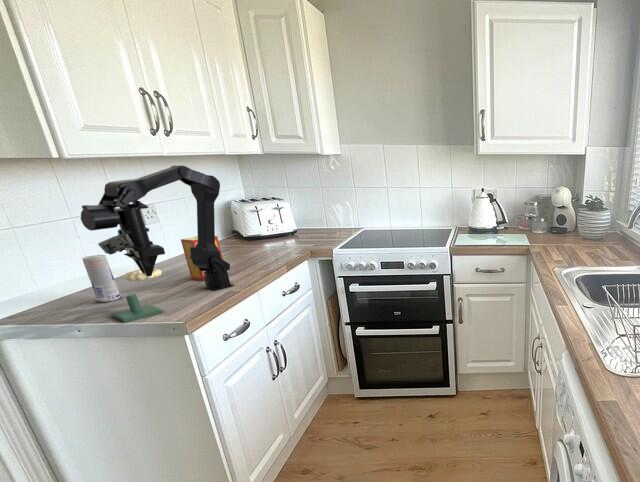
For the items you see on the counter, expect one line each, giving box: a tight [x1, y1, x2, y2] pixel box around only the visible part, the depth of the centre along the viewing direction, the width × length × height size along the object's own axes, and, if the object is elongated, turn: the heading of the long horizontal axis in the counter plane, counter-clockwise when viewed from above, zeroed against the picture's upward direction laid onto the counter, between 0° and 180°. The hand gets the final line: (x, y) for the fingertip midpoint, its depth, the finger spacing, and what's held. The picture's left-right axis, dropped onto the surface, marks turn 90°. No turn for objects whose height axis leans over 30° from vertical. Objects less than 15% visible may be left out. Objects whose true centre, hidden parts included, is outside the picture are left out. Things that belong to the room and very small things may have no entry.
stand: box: [111, 293, 162, 323], centre depth 125 cm, size 9×9×6 cm
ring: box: [123, 268, 163, 282], centre depth 131 cm, size 9×9×2 cm
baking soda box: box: [180, 235, 224, 282], centre depth 161 cm, size 10×6×16 cm
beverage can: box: [81, 254, 121, 303], centre depth 136 cm, size 6×6×15 cm
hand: (147, 275), depth 129 cm, fingers closed on ring, 2 cm apart
